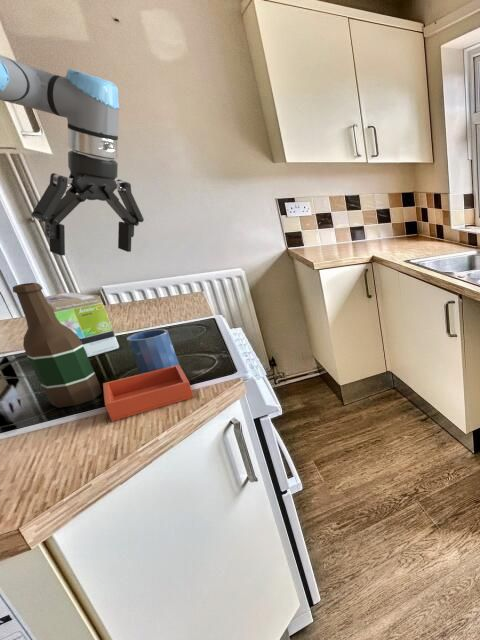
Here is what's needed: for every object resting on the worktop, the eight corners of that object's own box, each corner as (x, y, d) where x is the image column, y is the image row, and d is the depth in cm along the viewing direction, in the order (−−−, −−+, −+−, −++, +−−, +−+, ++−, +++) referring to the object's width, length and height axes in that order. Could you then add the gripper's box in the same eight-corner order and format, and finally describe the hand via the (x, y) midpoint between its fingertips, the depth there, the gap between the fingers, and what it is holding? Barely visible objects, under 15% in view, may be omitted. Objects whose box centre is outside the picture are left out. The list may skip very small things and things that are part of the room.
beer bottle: (53, 398, 87) (-1, 284, 78) (104, 386, 91) (58, 277, 83) (48, 412, 81) (-12, 291, 72) (102, 399, 86) (52, 284, 77)
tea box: (122, 348, 113) (101, 294, 108) (73, 362, 105) (48, 305, 99) (93, 341, 119) (72, 290, 114) (45, 353, 111) (20, 299, 105)
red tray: (109, 398, 86) (102, 383, 85) (184, 378, 94) (179, 364, 93) (112, 421, 78) (104, 404, 76) (194, 397, 86) (188, 381, 84)
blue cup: (141, 375, 96) (125, 335, 92) (178, 366, 100) (165, 327, 97) (144, 385, 91) (127, 342, 88) (183, 375, 96) (169, 334, 92)
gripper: (35, 150, 77) (39, 261, 84) (165, 168, 101) (160, 253, 107) (0, 138, 78) (7, 249, 84) (138, 158, 102) (135, 243, 108)
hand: (93, 251), depth 96 cm, fingers open, 13 cm apart
